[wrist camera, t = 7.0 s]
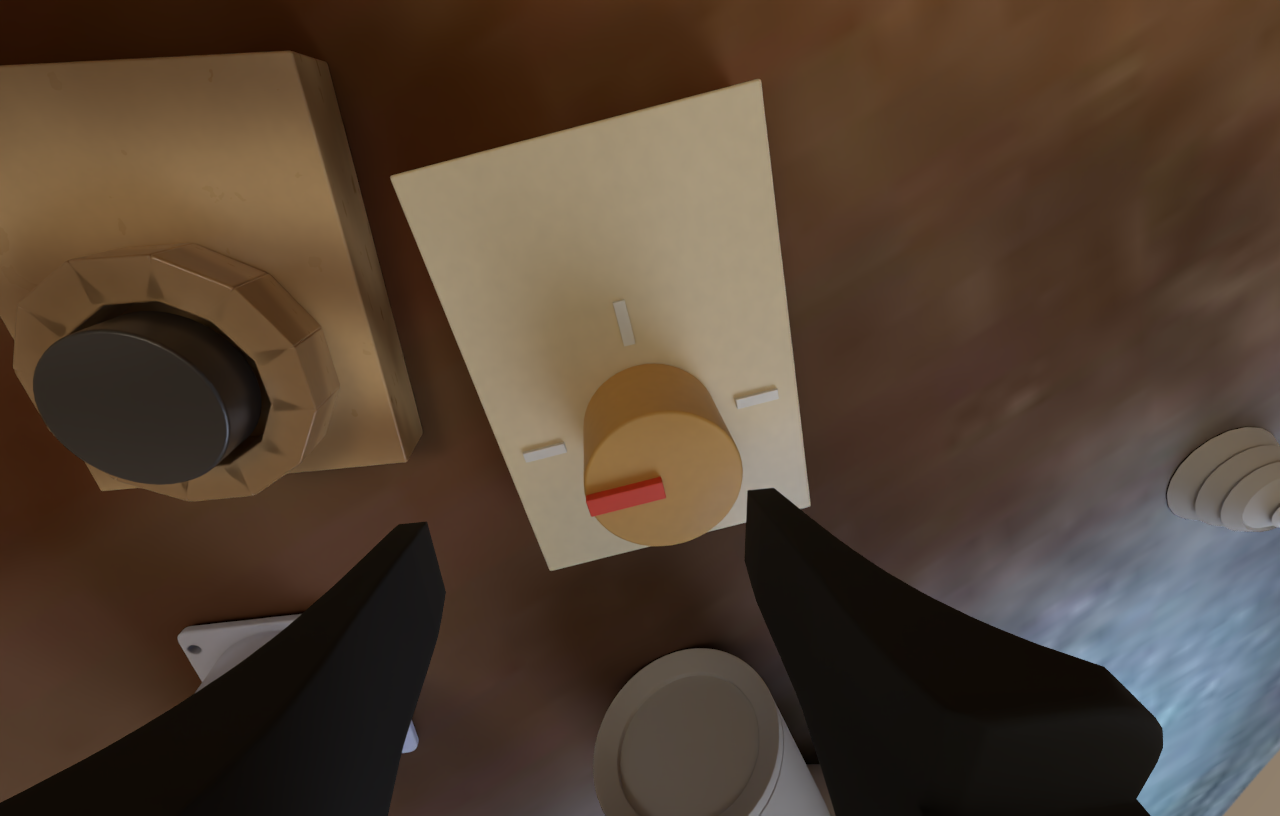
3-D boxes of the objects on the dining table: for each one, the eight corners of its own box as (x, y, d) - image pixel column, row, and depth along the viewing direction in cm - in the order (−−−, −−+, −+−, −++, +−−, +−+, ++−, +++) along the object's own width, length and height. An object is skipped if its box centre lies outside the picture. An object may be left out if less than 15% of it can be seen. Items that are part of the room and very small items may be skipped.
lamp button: (284, 446, 17) (254, 477, 15) (132, 460, 16) (84, 493, 15) (229, 303, 15) (187, 322, 13) (55, 316, 15) (-9, 338, 13)
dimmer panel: (784, 464, 23) (813, 509, 20) (553, 522, 23) (549, 575, 20) (733, 88, 17) (763, 77, 14) (418, 171, 17) (386, 176, 14)
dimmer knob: (703, 347, 17) (733, 398, 14) (725, 463, 19) (756, 532, 16) (566, 382, 17) (562, 440, 14) (603, 494, 19) (607, 570, 16)
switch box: (423, 432, 21) (391, 492, 17) (147, 458, 20) (53, 526, 17) (327, 61, 16) (252, 37, 12) (-49, 81, 15) (-246, 62, 12)
